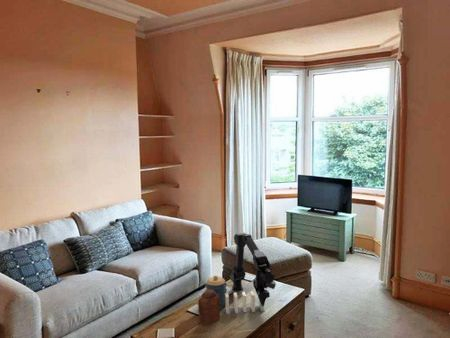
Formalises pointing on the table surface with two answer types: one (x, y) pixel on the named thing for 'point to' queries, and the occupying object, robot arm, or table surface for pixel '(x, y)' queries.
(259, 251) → the robot arm
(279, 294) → the table surface
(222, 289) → the canister
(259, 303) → the domino
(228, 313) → the domino
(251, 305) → the domino
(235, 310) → the domino
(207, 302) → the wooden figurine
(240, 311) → the mat
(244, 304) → the domino
